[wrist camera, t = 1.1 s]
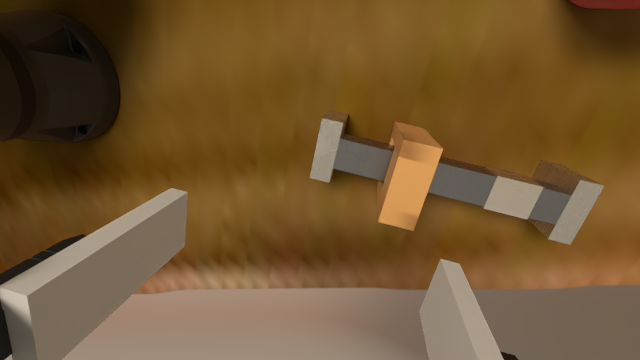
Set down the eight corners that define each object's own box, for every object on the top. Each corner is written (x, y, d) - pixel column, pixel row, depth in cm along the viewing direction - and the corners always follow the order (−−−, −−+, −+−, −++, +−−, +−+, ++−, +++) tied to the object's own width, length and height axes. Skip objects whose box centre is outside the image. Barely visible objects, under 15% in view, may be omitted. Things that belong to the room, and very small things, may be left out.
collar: (376, 183, 35) (378, 221, 26) (395, 121, 32) (403, 139, 23) (402, 190, 35) (413, 231, 26) (423, 128, 32) (443, 149, 23)
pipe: (320, 160, 37) (309, 177, 30) (331, 110, 35) (322, 118, 28) (535, 214, 35) (570, 244, 28) (560, 164, 33) (604, 185, 26)
